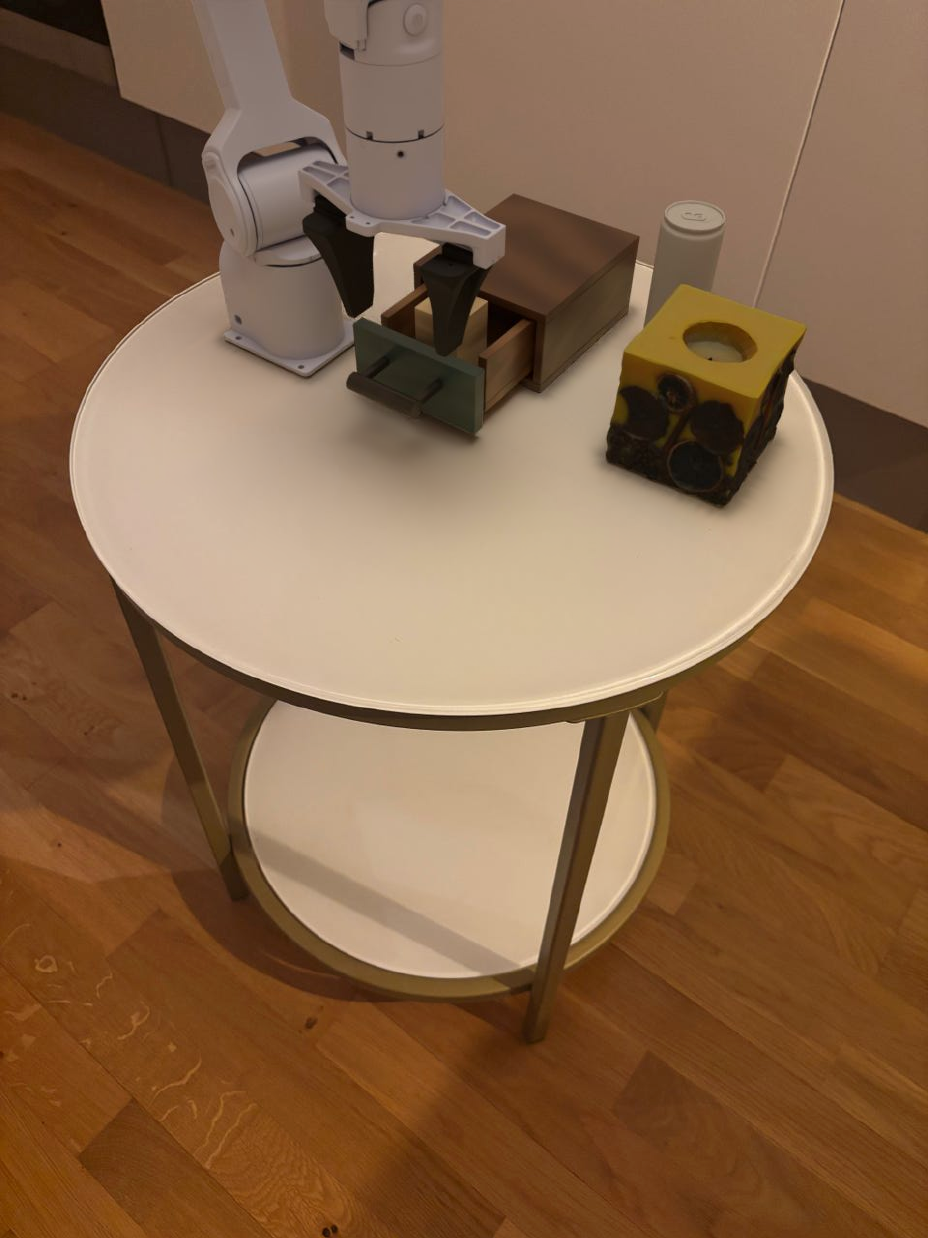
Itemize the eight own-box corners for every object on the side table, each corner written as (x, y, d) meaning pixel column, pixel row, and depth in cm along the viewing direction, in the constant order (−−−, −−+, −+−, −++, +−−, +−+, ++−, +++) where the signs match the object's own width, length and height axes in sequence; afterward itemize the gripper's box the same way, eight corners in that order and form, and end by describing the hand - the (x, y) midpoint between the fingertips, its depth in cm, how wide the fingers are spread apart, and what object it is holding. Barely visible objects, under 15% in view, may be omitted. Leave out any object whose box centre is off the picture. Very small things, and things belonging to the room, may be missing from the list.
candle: (657, 392, 79) (679, 279, 71) (776, 435, 75) (813, 321, 68) (599, 461, 73) (616, 347, 66) (725, 512, 70) (758, 397, 62)
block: (416, 369, 77) (414, 307, 73) (446, 345, 79) (445, 283, 75) (457, 387, 76) (457, 324, 72) (486, 362, 78) (488, 300, 74)
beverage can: (695, 371, 81) (726, 233, 71) (637, 364, 81) (660, 226, 72) (698, 338, 84) (728, 202, 75) (642, 332, 84) (665, 196, 75)
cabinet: (539, 393, 79) (546, 315, 73) (415, 340, 83) (412, 263, 78) (628, 311, 86) (640, 235, 81) (510, 267, 91) (513, 192, 86)
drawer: (441, 465, 71) (440, 406, 67) (322, 408, 76) (315, 349, 72) (567, 351, 81) (573, 293, 77) (455, 306, 85) (456, 249, 81)
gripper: (252, 112, 56) (283, 320, 67) (456, 182, 51) (456, 397, 61) (332, 73, 60) (350, 275, 70) (530, 135, 55) (518, 344, 65)
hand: (403, 329), depth 66 cm, fingers open, 7 cm apart
